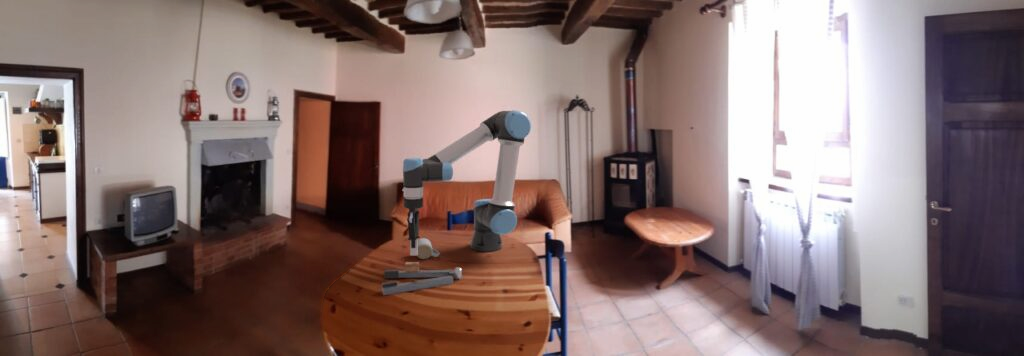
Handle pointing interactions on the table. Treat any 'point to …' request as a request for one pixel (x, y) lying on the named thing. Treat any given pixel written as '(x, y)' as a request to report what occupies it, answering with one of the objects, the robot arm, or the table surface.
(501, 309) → the table surface
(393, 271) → the tong arm
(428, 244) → the ceramic mug
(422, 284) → the tong fixed arm
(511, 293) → the table surface
